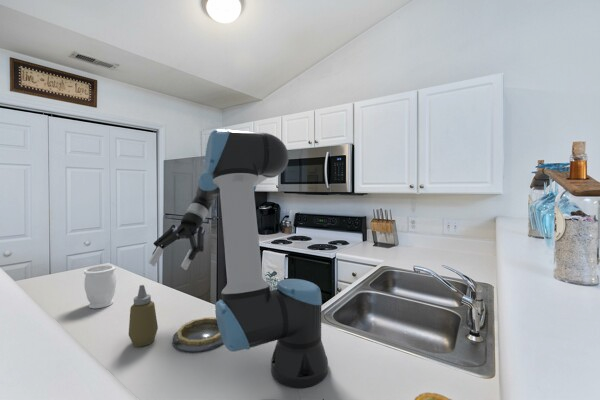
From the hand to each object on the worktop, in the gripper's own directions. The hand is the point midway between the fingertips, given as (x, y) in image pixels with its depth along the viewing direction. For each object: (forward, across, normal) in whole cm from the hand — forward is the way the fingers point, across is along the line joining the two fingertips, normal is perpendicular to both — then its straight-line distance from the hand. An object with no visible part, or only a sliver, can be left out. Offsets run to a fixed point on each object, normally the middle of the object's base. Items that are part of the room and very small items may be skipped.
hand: (167, 266), depth 98 cm
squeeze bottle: (+23, 0, -7) cm, 24 cm away
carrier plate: (+17, -16, -13) cm, 26 cm away
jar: (+11, +39, -19) cm, 45 cm away
